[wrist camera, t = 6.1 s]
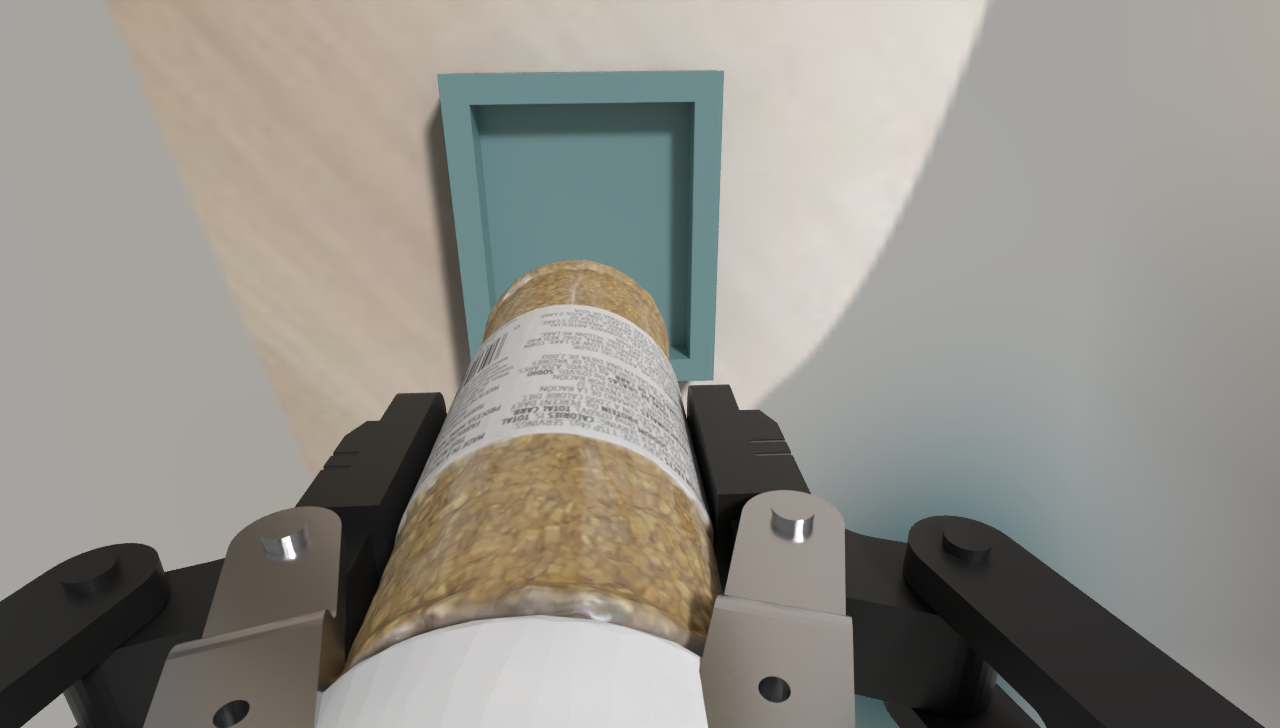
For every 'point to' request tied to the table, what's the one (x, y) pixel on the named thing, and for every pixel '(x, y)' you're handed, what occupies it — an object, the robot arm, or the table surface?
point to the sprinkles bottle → (548, 533)
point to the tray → (590, 188)
